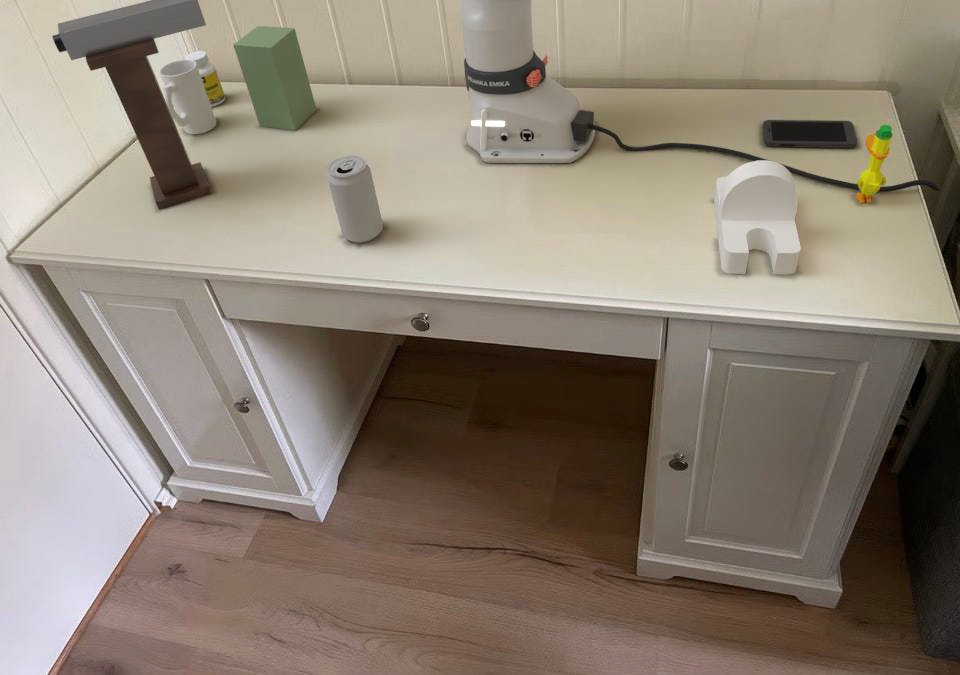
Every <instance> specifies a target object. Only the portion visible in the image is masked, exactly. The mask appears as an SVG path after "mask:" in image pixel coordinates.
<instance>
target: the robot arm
mask: <svg viewBox="0 0 960 675" xmlns="http://www.w3.org/2000/svg"><path fill="white" fill-rule="evenodd" d="M460 20H461V30H462V37H463V38H462V39H463V47H464V54H465V58H464V60H463V67H464V68H463V69H464V80H465V86H466V89H467V92H468V120H467V121H468V123H467V130H466V134H465V140H466V143H467V145H468V147H470V148H471V149H472V150H474V151H475V152H477V153H478V154H479V156H480V158H481V160H482V162H484V163H487V164H488V163H490V164H570V163H572V162H575V161H577V160H579V159H580V158H581V157H582V156H584V154H586V152H588V150H589V149H590V147H591V146H592V144H593V142H594V140H595V137H596V133H597V132H598V133H603V134H605V135H607V136H609V137H611V138H612V139H614V141H615V143H616V144H617V146H618V147H619V148H620V149H622V150H625V151H628V152H646V151H647V152H648V151H655V150H656V151H657V150H661V149H671V148H672V149H673V148H674V149H692V150H702V151H708V152H715V153H720V154H726V155H730V156H735V157H739V158H741V159H746V160H748V161H751V162H753V161H758V160H768V161H770V160H769V159H766V158H763V157H759V156H756V155H752V154H750V153H746V152H743V151H739V150H735V149H730V148H725V147H721V146H720V147H719V146H715V145H707V144H701V143H700V144H699V143H689V142H688V143H687V142H664V143H657V144H652V145H646V146H630V145H627V144H625V143H623V142H622V139H621V138H620V137H619V136H618V135H617V134H616V133H615V132H614V131H612V130H610V129H607V128H605V127H602V126H599V125H596V124H595V111H591V110H583V109H582V108H581V104H580V101H579V98H578V97H577V95H575V94H574V93H573V92H572V91H570V90H568V89H567V88H566V87H564V86H562V85H561V84H560V83H558V82H557V81H555V79H553V78H551V77H550V76H549V75H548V74H547V73H546V72H547V71H546V70H547V69H546V66H547V65H548V55H545V56H544V58H543V59H541V58H540V57H539V56H538V55H537V53H536V51H535V50H534V41H533V40H534V38H533V19H532V0H462V4H461V9H460ZM771 161H772V160H771ZM772 162H774V161H772ZM780 164H781V165H782V166H784V167H785V168H786V169H787V170H788V171H790V173H791V174H793V175H797V176H799V177H802V178H806V179H809V180H812V181H816V182H821V183H825V184H828V185H832V186H837V187H842V188H845V189H846V188H847V189H852V190H857V191H860V189H859V187H858V184H857V183H853V182H850V181H849V182H848V181H843V180H839V179H834V178H830V177H825V176H821V175H817V174H813V173H811V172H807V171H805V170H801V169H797V168H795V167H792V166H789V165H786V164H783V163H780ZM916 186H926V187H929V188H931V189H932V190H933V191H937V192H939V191H941V190H942V189H941V188H940V186H939V185H938V184H937V183H935V182H933V181H931V180H928V179H915V180H910V181H906V182H902V183H899V184H894V185H887V186H886V185H884V186H883V185H881V187H880V190H878V191H877V192H876V193H889V192H897V191H899V190H904V189H907V188H911V187H916Z"/></svg>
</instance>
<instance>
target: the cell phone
mask: <svg viewBox="0 0 960 675" xmlns="http://www.w3.org/2000/svg"><path fill="white" fill-rule="evenodd" d="M762 133H763V144H764V145H765V146H767V147H771V148H772V147H776V148H777V147H778V148H779V147H780V148H837V149H839V148H840V149H854V148H856V146H857V144H858V141H857V140H858V139H857V135H856V131H855V126H854V124H853V122H852V121H850V120H823V119H822V120H821V119H817V120H814V119H813V120H812V119H811V120H810V119H809V120H808V119H766V120H763V122H762Z"/></svg>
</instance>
